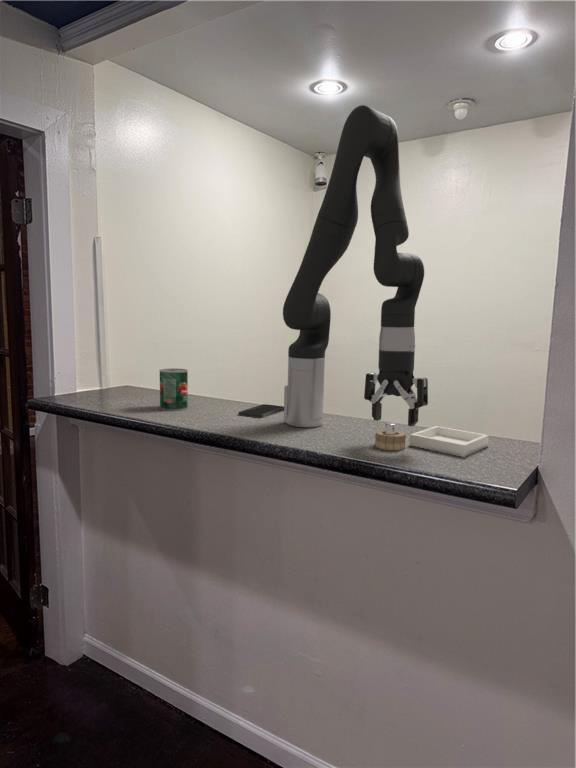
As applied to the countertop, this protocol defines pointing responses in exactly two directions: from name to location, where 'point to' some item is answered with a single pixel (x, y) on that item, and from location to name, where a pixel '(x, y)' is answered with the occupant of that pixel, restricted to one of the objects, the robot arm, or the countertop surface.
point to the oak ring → (390, 440)
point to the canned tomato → (173, 389)
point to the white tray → (449, 441)
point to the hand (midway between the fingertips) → (394, 422)
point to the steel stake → (390, 429)
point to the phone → (262, 411)
